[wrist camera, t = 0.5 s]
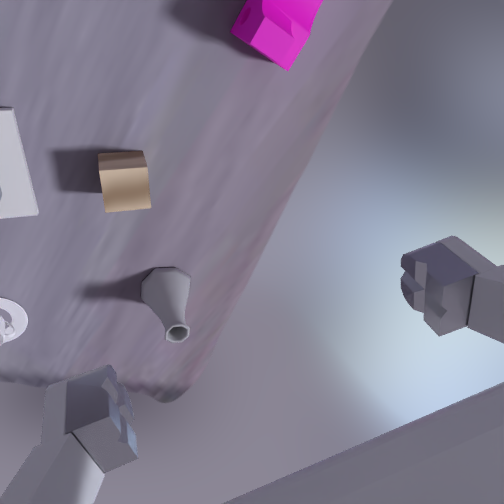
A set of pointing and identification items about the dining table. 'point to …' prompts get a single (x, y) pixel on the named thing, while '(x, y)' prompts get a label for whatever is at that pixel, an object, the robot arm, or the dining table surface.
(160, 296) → the flask
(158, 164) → the dining table surface
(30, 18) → the dining table surface
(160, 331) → the dining table surface
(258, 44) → the toy block
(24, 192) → the white platform base
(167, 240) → the dining table surface
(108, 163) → the beech block
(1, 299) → the teacup and saucer
